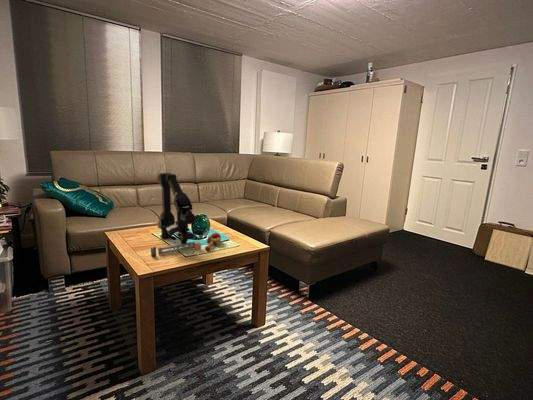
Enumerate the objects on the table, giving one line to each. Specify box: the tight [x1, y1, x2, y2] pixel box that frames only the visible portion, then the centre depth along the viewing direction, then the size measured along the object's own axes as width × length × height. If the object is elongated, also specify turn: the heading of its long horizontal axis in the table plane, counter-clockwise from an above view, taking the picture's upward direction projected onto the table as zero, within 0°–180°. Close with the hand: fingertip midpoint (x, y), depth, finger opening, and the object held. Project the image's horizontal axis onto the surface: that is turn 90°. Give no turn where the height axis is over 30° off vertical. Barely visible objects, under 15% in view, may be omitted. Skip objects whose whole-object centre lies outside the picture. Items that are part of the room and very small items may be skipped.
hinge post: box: [150, 246, 157, 258], centre depth 148 cm, size 2×2×4 cm
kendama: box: [204, 232, 222, 253], centre depth 165 cm, size 8×6×18 cm
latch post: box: [193, 241, 202, 252], centre depth 159 cm, size 3×3×4 cm
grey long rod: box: [157, 241, 195, 256], centre depth 155 cm, size 2×20×3 cm, turn 124°
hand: (183, 246), depth 159 cm, fingers closed
